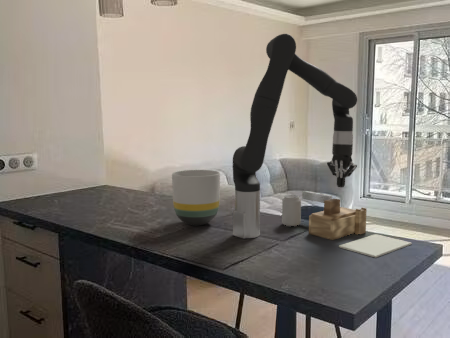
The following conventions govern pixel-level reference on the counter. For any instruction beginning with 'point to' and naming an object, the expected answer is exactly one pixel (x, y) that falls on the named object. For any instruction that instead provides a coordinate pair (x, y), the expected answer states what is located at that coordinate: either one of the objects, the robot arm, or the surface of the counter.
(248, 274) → the counter surface
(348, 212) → the lid
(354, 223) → the toolbox
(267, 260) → the counter surface
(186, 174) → the planter
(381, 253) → the mat
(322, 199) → the bolt
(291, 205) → the can
